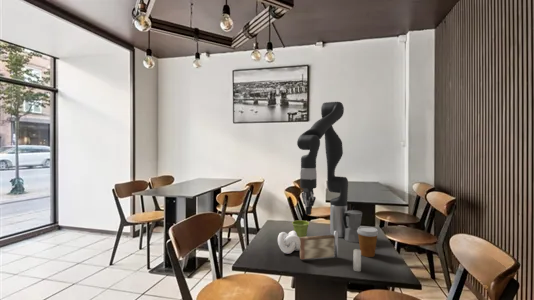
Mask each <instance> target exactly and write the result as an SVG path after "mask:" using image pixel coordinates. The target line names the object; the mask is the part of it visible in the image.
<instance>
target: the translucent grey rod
mask: <svg viewBox="0 0 534 300" xmlns="http://www.w3.org/2000/svg"><path fill="white" fill-rule="evenodd" d="M333 258H334V259H339V237H338V231H334V256H333Z"/></svg>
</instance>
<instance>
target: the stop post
mask: <svg viewBox="0 0 534 300" xmlns="http://www.w3.org/2000/svg"><path fill="white" fill-rule="evenodd" d="M352 252H353V253H352V254H353V256H352V257H353V260H352V267H353V269H352V270H353V271H354V272H361V270H362V255H361V250H360V248H358V249H357V248H355V249H353V251H352Z"/></svg>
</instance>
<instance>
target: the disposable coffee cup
mask: <svg viewBox="0 0 534 300" xmlns="http://www.w3.org/2000/svg"><path fill="white" fill-rule="evenodd" d="M357 232H358V237H359V242H358V244H359V245H358V246H359V250H361V257H362V256H363V257H364V258H365V257H366V258H373V257H375V254H376V249H377V241H378V235H379V231H378V229H377V228H376V227H371V226H360V227H359V228H358V230H357Z"/></svg>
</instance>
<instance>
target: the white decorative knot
mask: <svg viewBox="0 0 534 300" xmlns="http://www.w3.org/2000/svg"><path fill="white" fill-rule="evenodd" d="M277 244H278V247H279V249H280V250H281V252H282V253H284V254H292V253H293V252H294V251H295V252H296V251H297V252H298V251H300V238H299V237H298V236H297V233H296V232H295V231H294V230H291V231H289V232H288V233H287V232H285V231H281V232H279V234H278V236H277Z"/></svg>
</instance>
